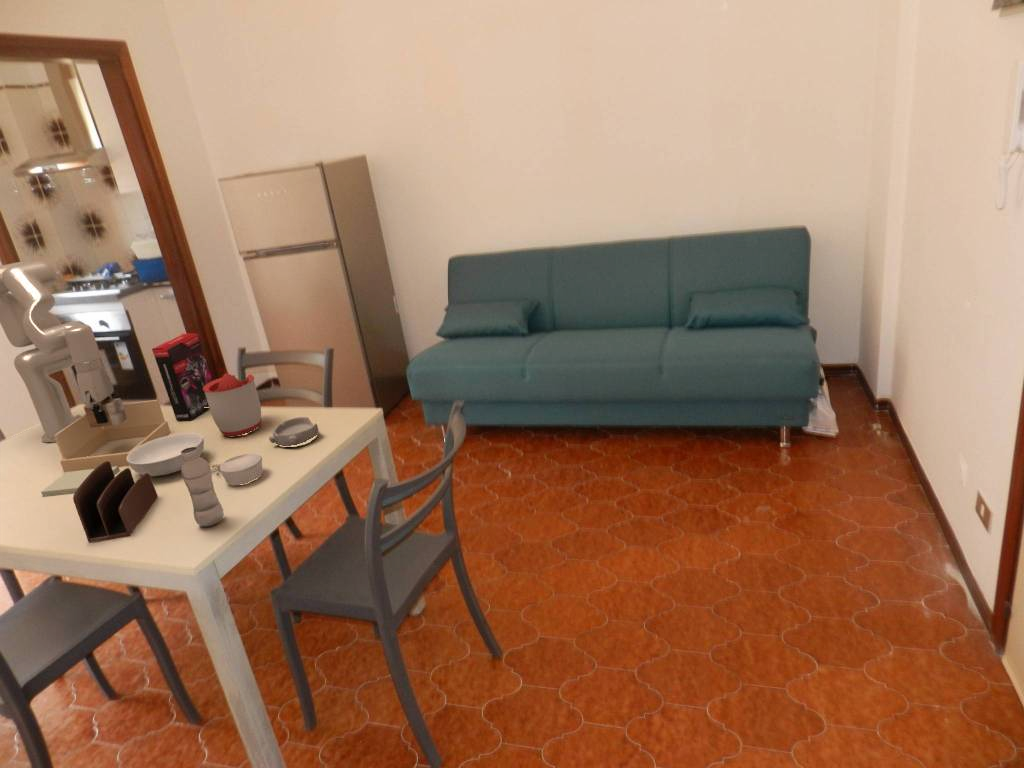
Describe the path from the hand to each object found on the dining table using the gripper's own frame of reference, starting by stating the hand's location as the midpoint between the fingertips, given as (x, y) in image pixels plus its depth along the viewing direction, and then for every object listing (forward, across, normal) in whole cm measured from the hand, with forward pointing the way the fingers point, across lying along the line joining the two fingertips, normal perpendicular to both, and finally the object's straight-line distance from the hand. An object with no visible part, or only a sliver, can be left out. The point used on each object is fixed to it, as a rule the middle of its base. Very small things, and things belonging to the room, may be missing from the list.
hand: (107, 418), depth 218 cm
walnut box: (+2, 0, 0) cm, 2 cm away
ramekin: (+11, +30, +53) cm, 62 cm away
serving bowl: (+11, +17, +26) cm, 33 cm away
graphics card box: (+12, -29, +14) cm, 34 cm away
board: (+11, +21, +1) cm, 24 cm away
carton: (+12, 0, +1) cm, 12 cm away
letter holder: (+11, +46, +27) cm, 54 cm away
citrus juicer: (+11, -7, +39) cm, 41 cm away
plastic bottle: (+10, +53, +53) cm, 76 cm away
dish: (+11, +7, +61) cm, 62 cm away
